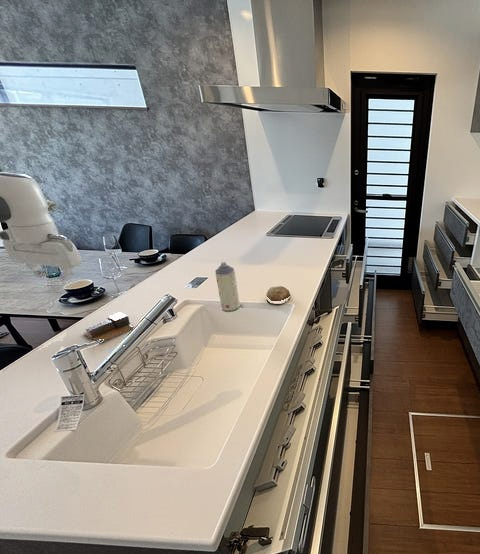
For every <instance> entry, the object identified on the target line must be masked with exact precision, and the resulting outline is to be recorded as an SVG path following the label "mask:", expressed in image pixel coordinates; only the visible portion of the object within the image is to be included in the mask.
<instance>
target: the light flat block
mask: <svg viewBox="0 0 480 554" xmlns="http://www.w3.org/2000/svg"><path fill="white" fill-rule="evenodd" d="M133 328H134V326H133V325H131V324H129V325H126V326H124V327H122V328H119V329H118V328H115V329H113V330H111V331H108V332H106V333H104V334H102V335H99V336H97V337H95V338H91V337H89V336H88V334H87V331H85V332H83V335H84V336H86V337H87V338H89V339H92V340H93V341H96V340H99V339H104V341H103V342H102V343H101V344H104V343H106V342H108V341H110V340H113V339H114V338H117V337H118V336H121V335H123V334H125V333H128V332H129V331H132V330H134V329H133ZM96 342H97V341H96Z"/></svg>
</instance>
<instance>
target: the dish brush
mask: <svg viewBox="0 0 480 554" xmlns="http://www.w3.org/2000/svg"><path fill="white" fill-rule="evenodd" d="M106 318H107V319H106V320H104V321H102V322H99V323H97V324H94V325H92V326H90V327H87V328H85V332H87V334H88V336H89V337H91V338H95V337H97V336H99V335H102V334H104V333H106V332H108V331H111V330H113V329H115V328H118V329H119V328H122V327H124V326H126V325H131V322H130V318H129V315H127V314H125V313H123V312H121V311H119V312H117V313H114V314H112V315H109V316H107V317H106ZM89 337H88V338H89ZM91 338H90V339H91Z"/></svg>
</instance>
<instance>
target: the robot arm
mask: <svg viewBox="0 0 480 554" xmlns="http://www.w3.org/2000/svg"><path fill="white" fill-rule="evenodd" d="M48 204H49V203H48V202H47V200H46V197H45V194H44V192H43V191H42V189H41V187H40V185H39V183H38V182H37V181H36V180H35V179H34V178H33V177H31V176H30V175H27V174H25V173H19V172H10V171H0V224H1V223H5V224H7V227H8V228H7V229H3V230H1V231H0V241H2V245H3V248H4V250H5V252H6V254H7V255H8V257H9V259H10V260H11V261H12V262H13V263H18V264H25V266H26V268H28V269H29V270H30V271H31V273H33V275H34V277H35V278H44V277H46V276H47V273H46V272H45V270H44V269H42V268H41V267H40V266H45V267H54V268H60V270H61V271H62V274H61V275H60V277H61V279H62V281H68V282H69V281H71V280H73V279H74V276H73V274H72V273H73V270H74V268H76V267H79V266H81V265H82V264H83V259H82V257H81V254H80V253H79V252H80V251H79V250H78V248H77V246H76V245H75V243H73V241H72V240H71V239H69V238H67V237H66V236H65V235H60V234H59V230H58V228H57V226H56V222H55V220H54V218H53V217H52V215H51V214H50V213H49V205H48Z"/></svg>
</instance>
